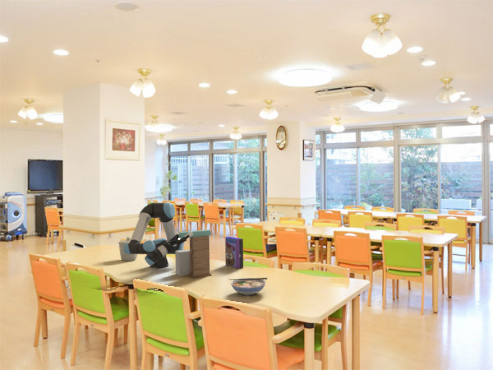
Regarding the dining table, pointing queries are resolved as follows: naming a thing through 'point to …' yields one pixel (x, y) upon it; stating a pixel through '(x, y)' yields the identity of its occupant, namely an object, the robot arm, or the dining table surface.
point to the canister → (123, 256)
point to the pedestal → (199, 257)
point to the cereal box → (234, 252)
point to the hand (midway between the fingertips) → (189, 231)
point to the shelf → (182, 262)
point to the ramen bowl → (248, 285)
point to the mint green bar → (196, 233)
